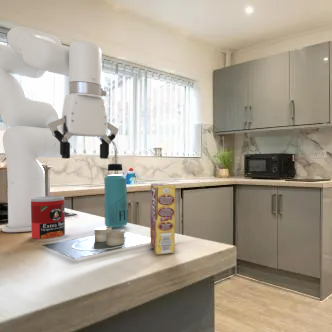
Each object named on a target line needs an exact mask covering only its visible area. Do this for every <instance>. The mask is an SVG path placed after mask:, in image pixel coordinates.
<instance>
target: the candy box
mask: <svg viewBox="0 0 332 332" xmlns="http://www.w3.org/2000/svg"><path fill="white" fill-rule="evenodd" d="M149 226H150V230H149V231H150V232H149V233H150V234H149V235H150V237H149V238H150V242H149V243H150V245H151V247H152V248H151V249H152V250H153V252H154V253H155V254H156V255H169V254H174V253H175V243H176V242H175V241H176V240H175V239H176V238H175V237H176V234H175V233H176V184H173V183H172V184H171V183H167V182H155V183H150V225H149Z"/></svg>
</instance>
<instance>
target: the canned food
mask: <svg viewBox="0 0 332 332" xmlns="http://www.w3.org/2000/svg"><path fill="white" fill-rule="evenodd" d="M65 203H66V202H65V196H61V195H50V196H46V195H45V197H36V198H32V199H31V228H32V231H31V238H32V239H34V240H47V239H48V240H49V239H55V238H60V237H63V236H65V233H66V220H65V219H66V214H65V213H66V211H65V209H66V208H65Z"/></svg>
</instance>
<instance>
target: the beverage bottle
mask: <svg viewBox="0 0 332 332" xmlns="http://www.w3.org/2000/svg"><path fill="white" fill-rule="evenodd" d="M107 171H109V172H113V171H114V172H115V171H117V172H118V171H123V164H122V163H109V164H107ZM103 183H104V206H103V207H104V226H105V227H112V228H118V227H123V226H126V225H127V224H128V222H129V221H128V218H129V217H128V216H129V214H128V188H127V177H126V176H125V175H124V174H108V175H106V176H105V178H104V179H103Z"/></svg>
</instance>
